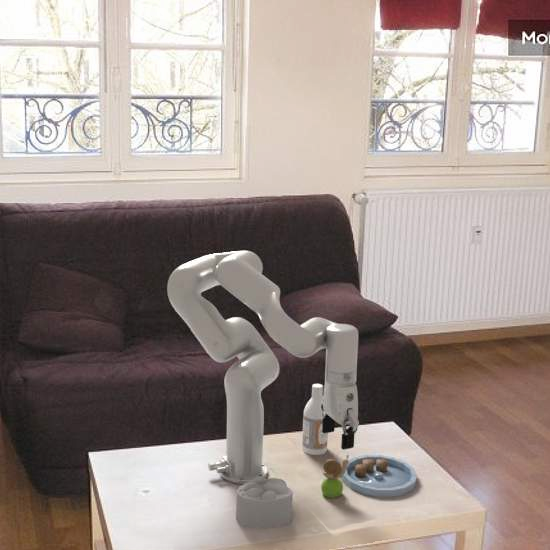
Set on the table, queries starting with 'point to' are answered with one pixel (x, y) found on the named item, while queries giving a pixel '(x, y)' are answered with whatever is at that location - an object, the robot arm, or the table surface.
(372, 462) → the bead
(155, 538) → the table surface
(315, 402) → the bath foam
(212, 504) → the table surface
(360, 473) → the bead
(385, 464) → the bead
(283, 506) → the lumpy-topped squat cylinder
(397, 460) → the tray
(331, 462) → the snail figurine
